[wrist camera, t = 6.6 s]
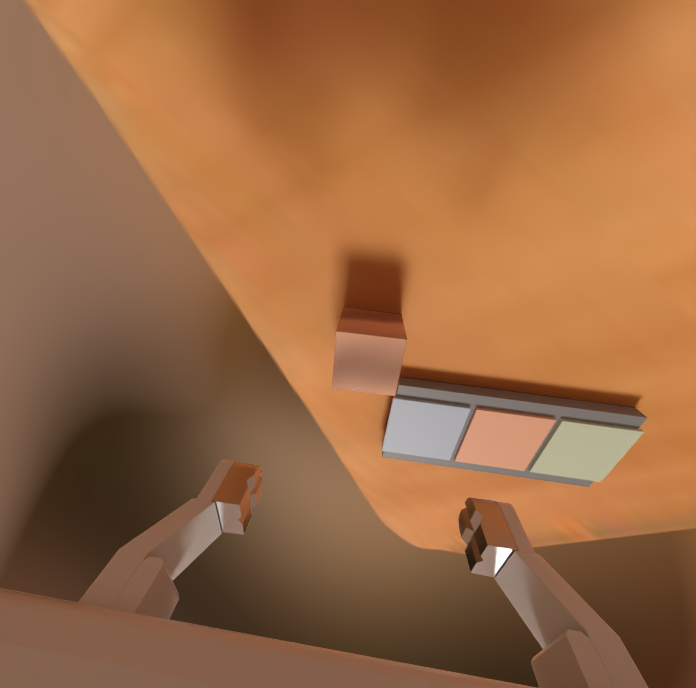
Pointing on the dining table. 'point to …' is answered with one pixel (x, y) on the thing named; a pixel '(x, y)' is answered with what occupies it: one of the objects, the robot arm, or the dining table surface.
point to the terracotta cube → (369, 351)
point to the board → (508, 432)
